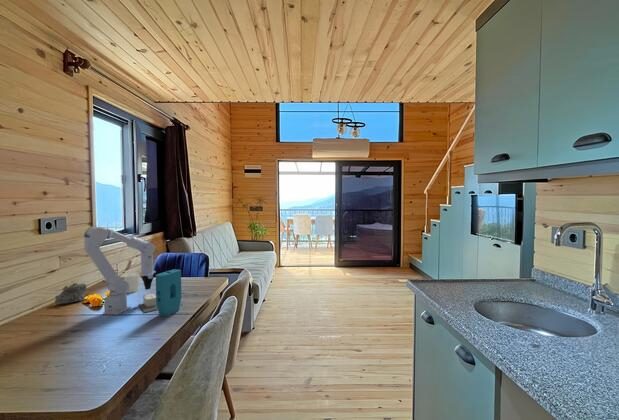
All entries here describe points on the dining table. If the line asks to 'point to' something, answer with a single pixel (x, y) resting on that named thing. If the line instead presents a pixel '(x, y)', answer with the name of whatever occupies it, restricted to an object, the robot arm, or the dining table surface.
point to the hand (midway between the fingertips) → (147, 289)
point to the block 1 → (149, 300)
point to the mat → (147, 308)
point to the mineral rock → (72, 294)
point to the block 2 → (168, 292)
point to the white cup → (132, 282)
